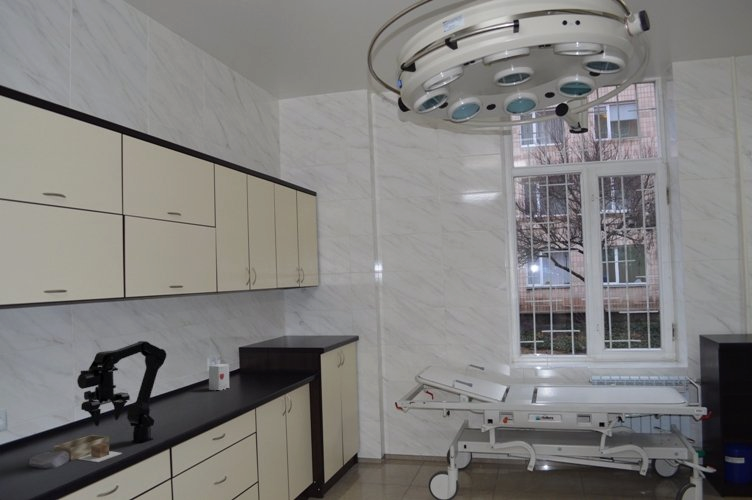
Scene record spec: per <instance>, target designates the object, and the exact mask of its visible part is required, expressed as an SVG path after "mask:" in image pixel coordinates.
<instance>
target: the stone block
mask: <svg viewBox="0 0 752 500" xmlns="http://www.w3.org/2000/svg"><path fill="white" fill-rule="evenodd" d="M69 458H70V455H69V453H68V452H66V451H58V452H55V453H54V452H49V451H44V452H42V453H40V454H39V453H38V454H36V455H34V456H33V457H31V458H30V459H29V463H28V464H29V466H30V467H31V468H38V469H53V468H58V467H60V466H62V465H64V464H66V463H68V462H69V461H70V460H69Z"/></svg>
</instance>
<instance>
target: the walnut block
mask: <svg viewBox="0 0 752 500" xmlns="http://www.w3.org/2000/svg"><path fill="white" fill-rule="evenodd" d="M109 451H110V443H109V444H102V443H99V444H96V445H93V446H91V457H98V458H101V457H104V456H107V455H109Z"/></svg>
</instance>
